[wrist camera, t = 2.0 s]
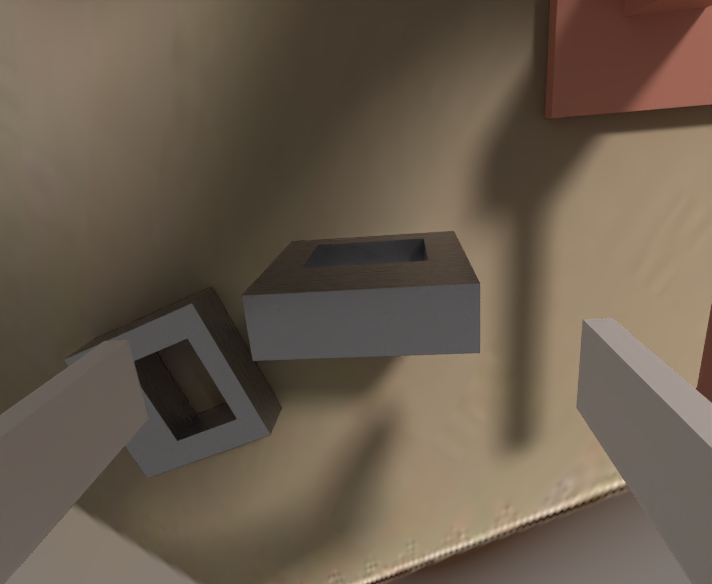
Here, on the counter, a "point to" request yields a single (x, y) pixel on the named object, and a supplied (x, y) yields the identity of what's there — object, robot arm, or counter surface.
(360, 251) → the link
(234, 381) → the link
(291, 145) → the counter surface
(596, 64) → the hook
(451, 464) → the counter surface
